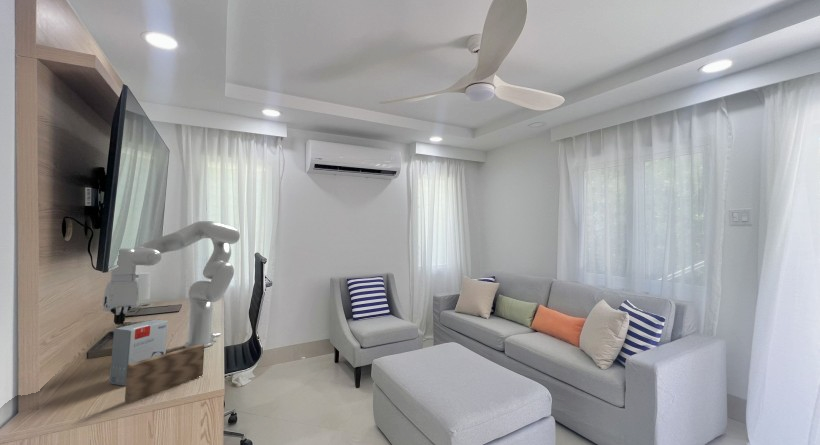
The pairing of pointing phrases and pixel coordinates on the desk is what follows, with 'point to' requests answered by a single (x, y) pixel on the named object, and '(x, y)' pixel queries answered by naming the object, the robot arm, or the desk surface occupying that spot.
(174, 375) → the walnut board
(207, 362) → the desk surface
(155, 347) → the hard drive box
